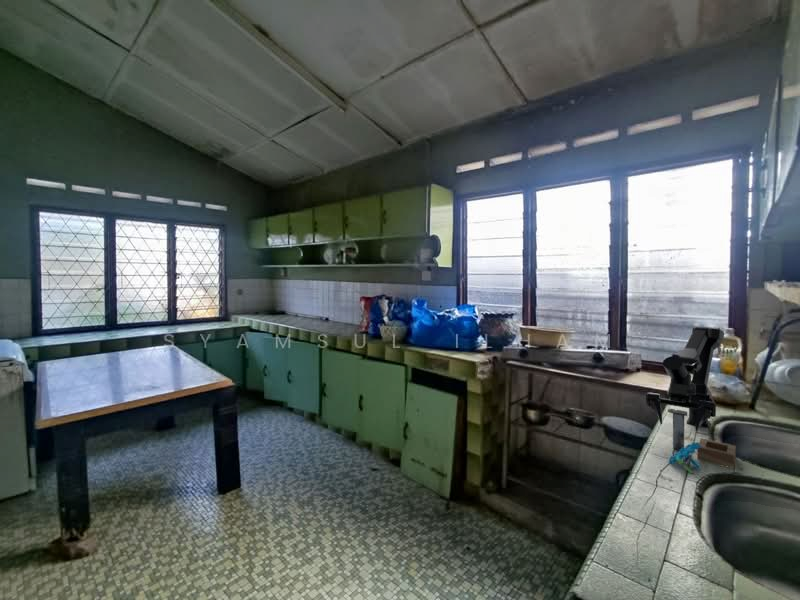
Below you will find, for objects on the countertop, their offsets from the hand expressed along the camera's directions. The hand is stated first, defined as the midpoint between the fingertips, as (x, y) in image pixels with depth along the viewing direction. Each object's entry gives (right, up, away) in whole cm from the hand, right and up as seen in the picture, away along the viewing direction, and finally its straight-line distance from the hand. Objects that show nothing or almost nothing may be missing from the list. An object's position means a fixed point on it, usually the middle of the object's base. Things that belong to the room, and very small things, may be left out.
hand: (678, 427), depth 119 cm
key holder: (+7, -8, -6) cm, 12 cm away
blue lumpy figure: (-5, -9, -9) cm, 14 cm away
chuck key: (0, -8, 0) cm, 8 cm away
